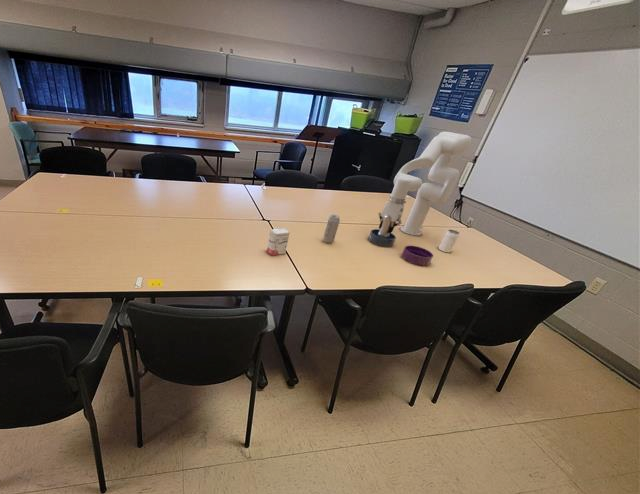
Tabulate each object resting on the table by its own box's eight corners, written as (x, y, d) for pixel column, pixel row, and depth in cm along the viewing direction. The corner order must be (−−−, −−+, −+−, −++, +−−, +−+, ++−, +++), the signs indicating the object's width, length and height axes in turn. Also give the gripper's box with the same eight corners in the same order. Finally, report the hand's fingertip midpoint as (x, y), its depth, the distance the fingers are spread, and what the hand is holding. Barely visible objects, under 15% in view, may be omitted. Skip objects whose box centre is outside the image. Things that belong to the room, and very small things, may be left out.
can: (448, 249, 190) (458, 230, 183) (451, 253, 184) (461, 234, 178) (437, 246, 191) (446, 228, 185) (439, 250, 186) (448, 232, 179)
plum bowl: (411, 251, 180) (414, 244, 177) (434, 263, 170) (438, 255, 167) (396, 255, 173) (399, 247, 170) (419, 268, 163) (423, 259, 160)
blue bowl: (378, 235, 195) (380, 228, 193) (397, 245, 186) (401, 237, 183) (363, 238, 188) (365, 230, 186) (382, 248, 179) (385, 240, 176)
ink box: (271, 255, 155) (275, 233, 149) (266, 251, 159) (270, 229, 152) (285, 253, 159) (290, 232, 153) (280, 249, 163) (284, 228, 156)
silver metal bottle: (388, 243, 184) (401, 211, 173) (376, 241, 185) (388, 208, 174) (386, 239, 189) (398, 207, 178) (374, 237, 190) (386, 205, 179)
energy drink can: (333, 244, 176) (341, 219, 167) (322, 242, 176) (329, 217, 168) (332, 240, 181) (340, 215, 173) (322, 238, 181) (329, 213, 173)
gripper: (414, 205, 170) (401, 235, 180) (387, 194, 181) (377, 224, 191) (406, 206, 166) (393, 237, 176) (379, 195, 178) (369, 225, 188)
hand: (385, 230), depth 183 cm, fingers closed on silver metal bottle, 5 cm apart
